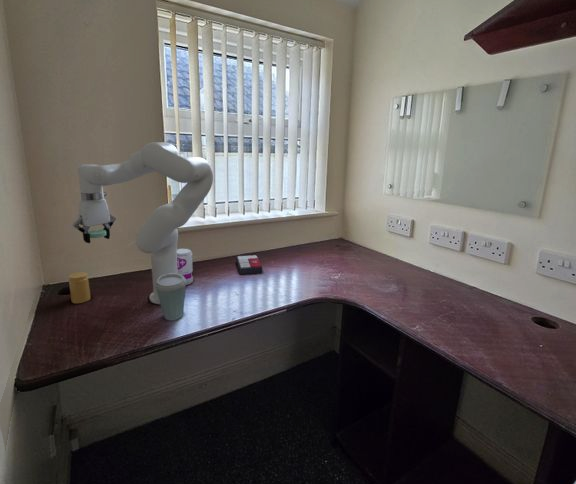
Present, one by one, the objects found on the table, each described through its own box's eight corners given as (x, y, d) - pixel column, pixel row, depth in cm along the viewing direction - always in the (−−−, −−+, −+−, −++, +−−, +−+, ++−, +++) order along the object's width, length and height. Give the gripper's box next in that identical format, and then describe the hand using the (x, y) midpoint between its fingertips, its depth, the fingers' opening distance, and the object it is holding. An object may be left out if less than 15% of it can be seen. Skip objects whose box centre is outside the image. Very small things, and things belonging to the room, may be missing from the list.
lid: (84, 235, 127) (84, 231, 127) (103, 232, 132) (102, 228, 132) (89, 239, 123) (89, 235, 122) (109, 235, 128) (108, 231, 127)
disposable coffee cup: (192, 318, 114) (190, 280, 110) (161, 327, 108) (158, 287, 104) (183, 306, 123) (181, 269, 119) (153, 313, 117) (150, 275, 113)
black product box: (240, 267, 153) (236, 255, 166) (240, 275, 154) (236, 262, 168) (262, 265, 156) (257, 254, 169) (262, 273, 157) (256, 261, 171)
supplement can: (187, 287, 138) (186, 255, 134) (170, 285, 140) (168, 252, 136) (196, 279, 146) (195, 249, 142) (179, 277, 147) (178, 247, 143)
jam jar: (92, 299, 124) (89, 275, 122) (73, 305, 120) (70, 279, 117) (87, 294, 129) (84, 270, 126) (69, 299, 124) (65, 274, 121)
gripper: (109, 193, 132) (113, 234, 137) (62, 198, 118) (69, 243, 123) (119, 195, 128) (123, 237, 133) (72, 200, 114) (78, 247, 119)
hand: (97, 239), depth 128 cm, fingers closed on lid, 6 cm apart
